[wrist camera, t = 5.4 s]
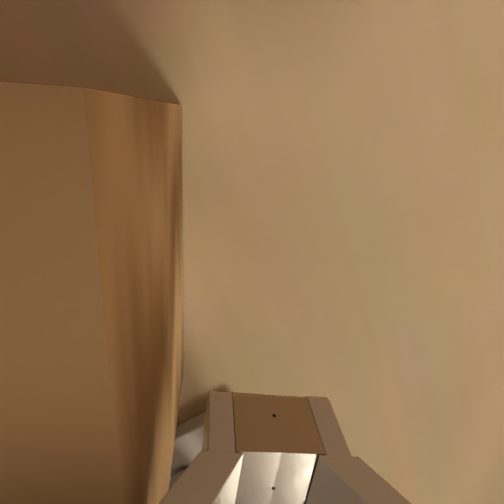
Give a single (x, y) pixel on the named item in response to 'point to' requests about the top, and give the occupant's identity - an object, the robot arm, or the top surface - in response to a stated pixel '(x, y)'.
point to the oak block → (89, 295)
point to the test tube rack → (186, 446)
